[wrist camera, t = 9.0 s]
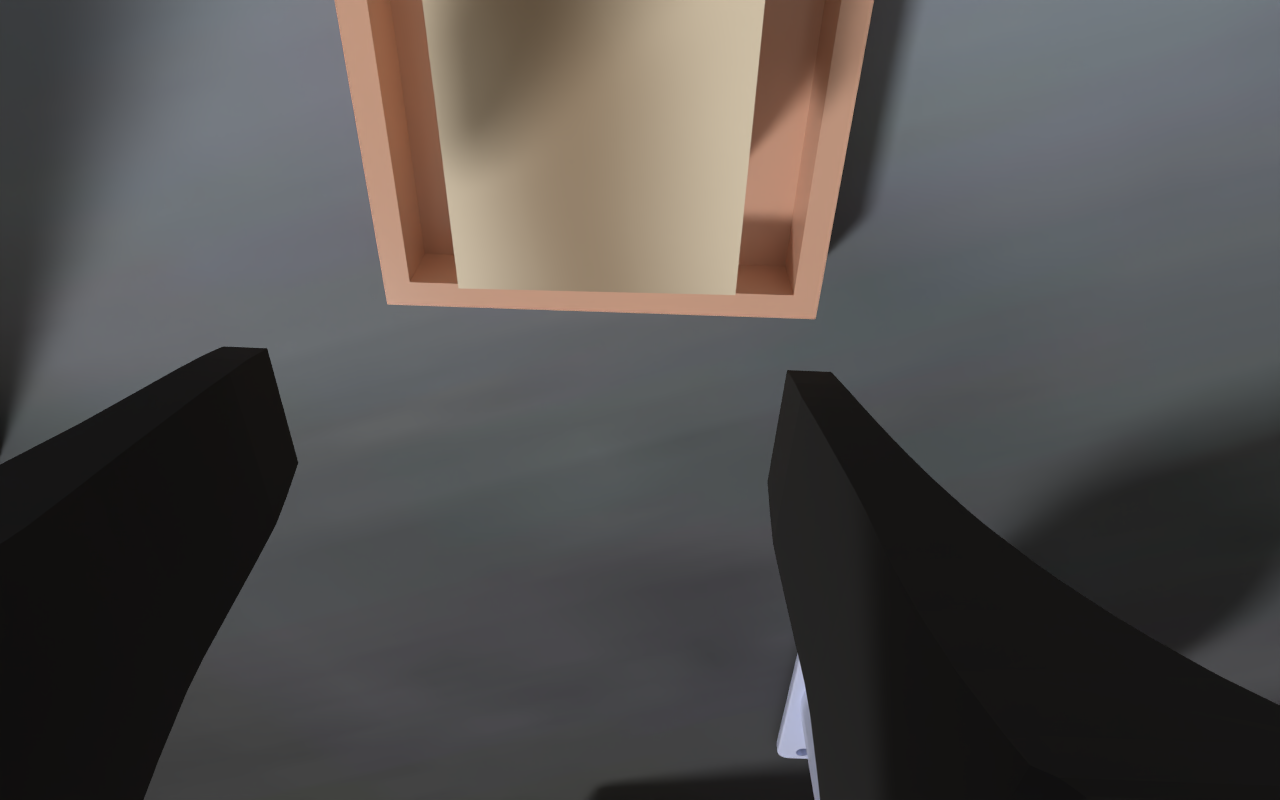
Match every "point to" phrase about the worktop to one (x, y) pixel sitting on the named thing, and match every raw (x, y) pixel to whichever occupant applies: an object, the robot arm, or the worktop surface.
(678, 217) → the beech block
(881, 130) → the worktop surface
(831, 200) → the terracotta tray
